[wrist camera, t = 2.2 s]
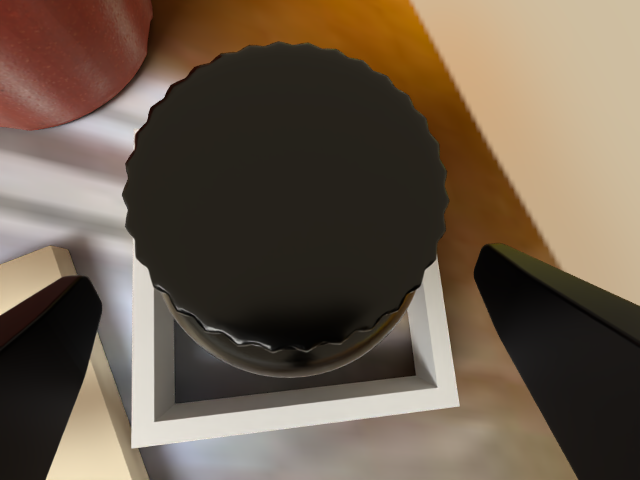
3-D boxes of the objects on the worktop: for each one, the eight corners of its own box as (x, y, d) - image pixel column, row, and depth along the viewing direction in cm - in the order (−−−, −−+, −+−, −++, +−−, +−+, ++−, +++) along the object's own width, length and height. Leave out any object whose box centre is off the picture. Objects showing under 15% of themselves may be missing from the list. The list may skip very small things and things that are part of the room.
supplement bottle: (355, 199, 18) (492, -11, 6) (366, 337, 16) (566, 422, 5) (218, 203, 17) (61, -27, 5) (218, 347, 16) (13, 475, 4)
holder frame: (434, 391, 16) (459, 406, 14) (156, 425, 15) (131, 448, 12) (400, 142, 18) (416, 119, 16) (154, 152, 17) (133, 128, 15)
